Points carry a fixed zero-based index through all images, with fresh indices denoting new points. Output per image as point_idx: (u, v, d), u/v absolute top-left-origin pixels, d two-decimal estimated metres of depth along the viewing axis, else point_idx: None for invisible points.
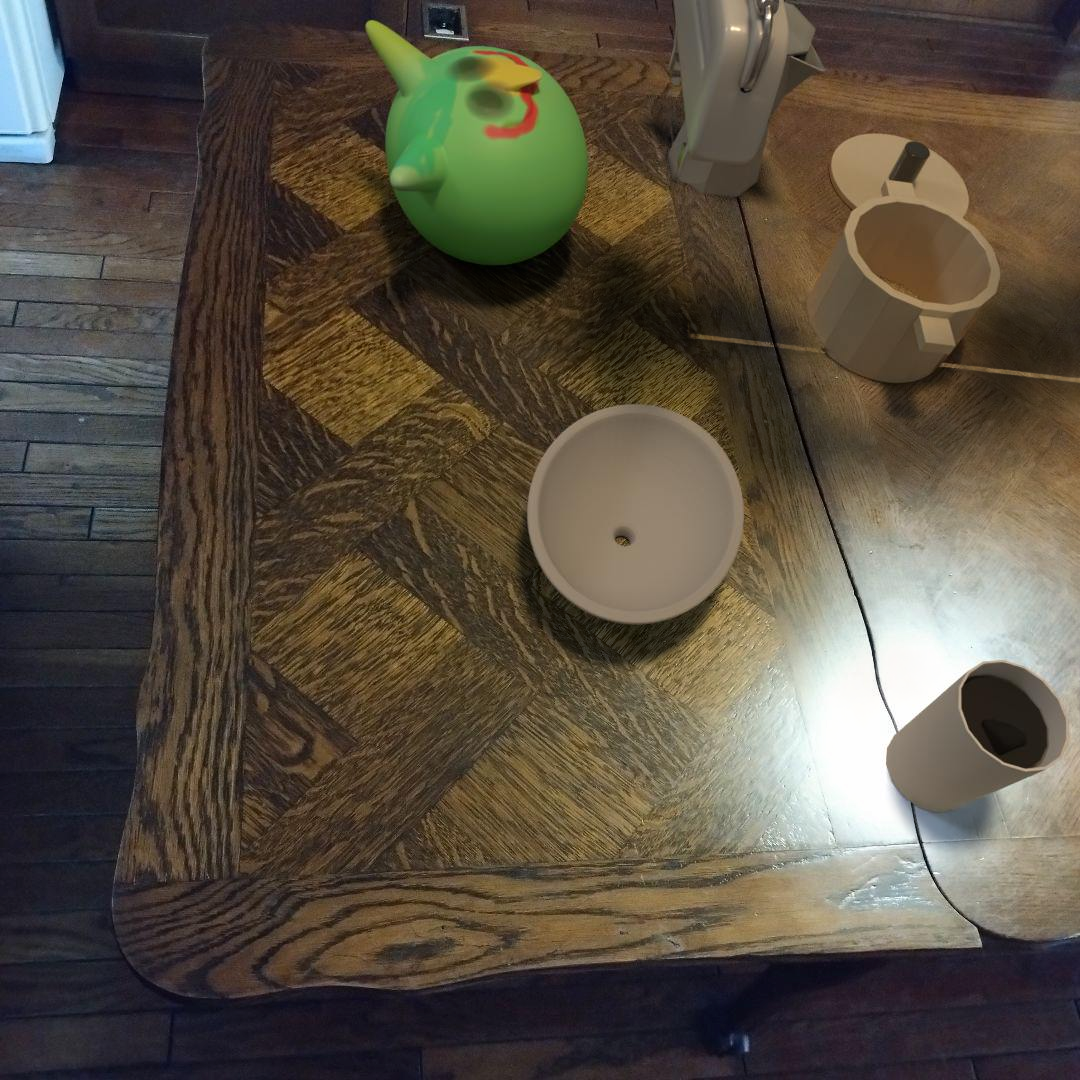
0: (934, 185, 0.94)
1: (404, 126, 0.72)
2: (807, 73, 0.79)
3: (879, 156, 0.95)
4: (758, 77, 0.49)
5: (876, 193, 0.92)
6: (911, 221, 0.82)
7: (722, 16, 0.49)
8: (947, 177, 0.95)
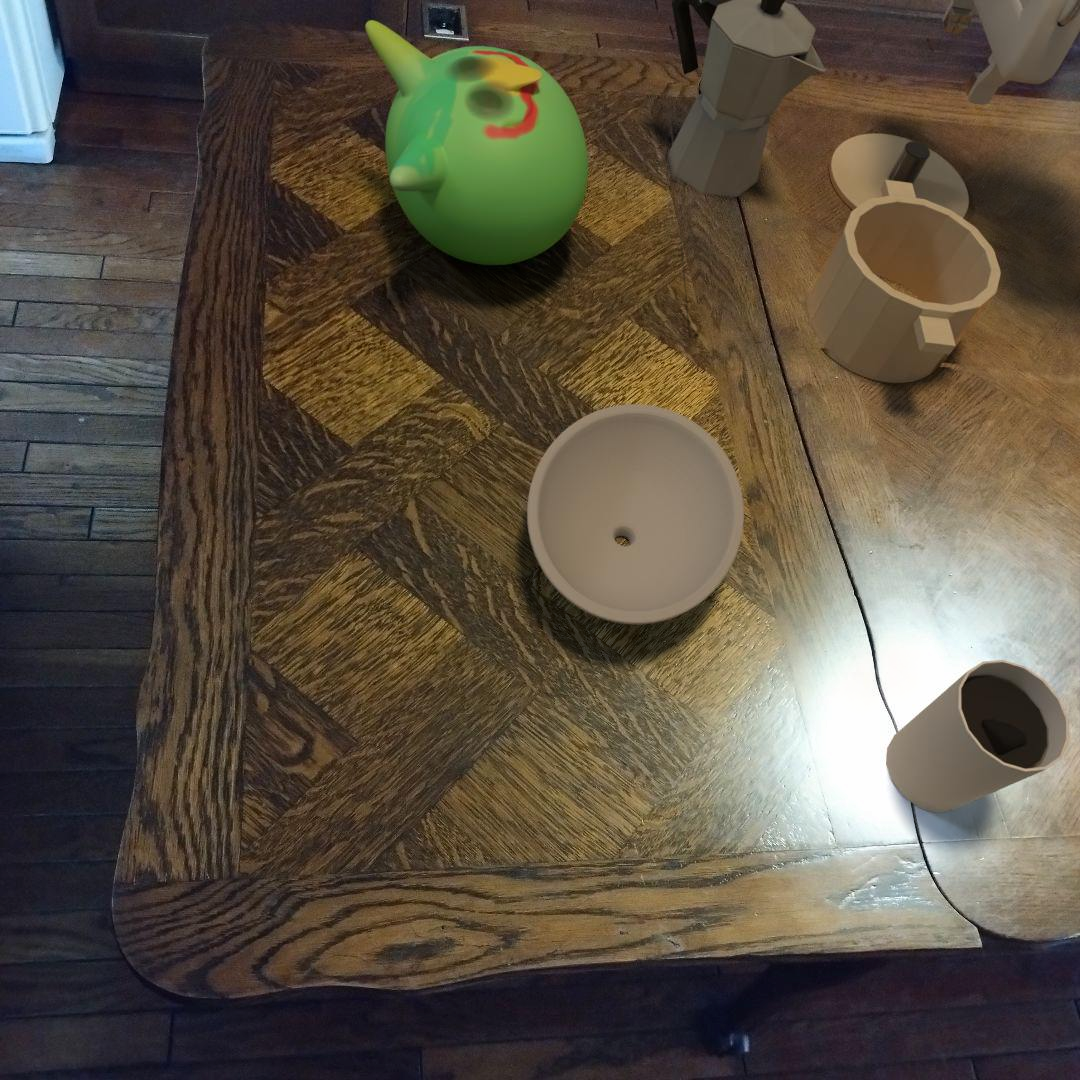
0: (934, 185, 0.94)
1: (403, 126, 0.72)
2: (807, 73, 0.79)
3: (879, 156, 0.95)
4: (1076, 14, 0.68)
5: (876, 193, 0.92)
6: (911, 221, 0.82)
7: None
8: (947, 177, 0.95)
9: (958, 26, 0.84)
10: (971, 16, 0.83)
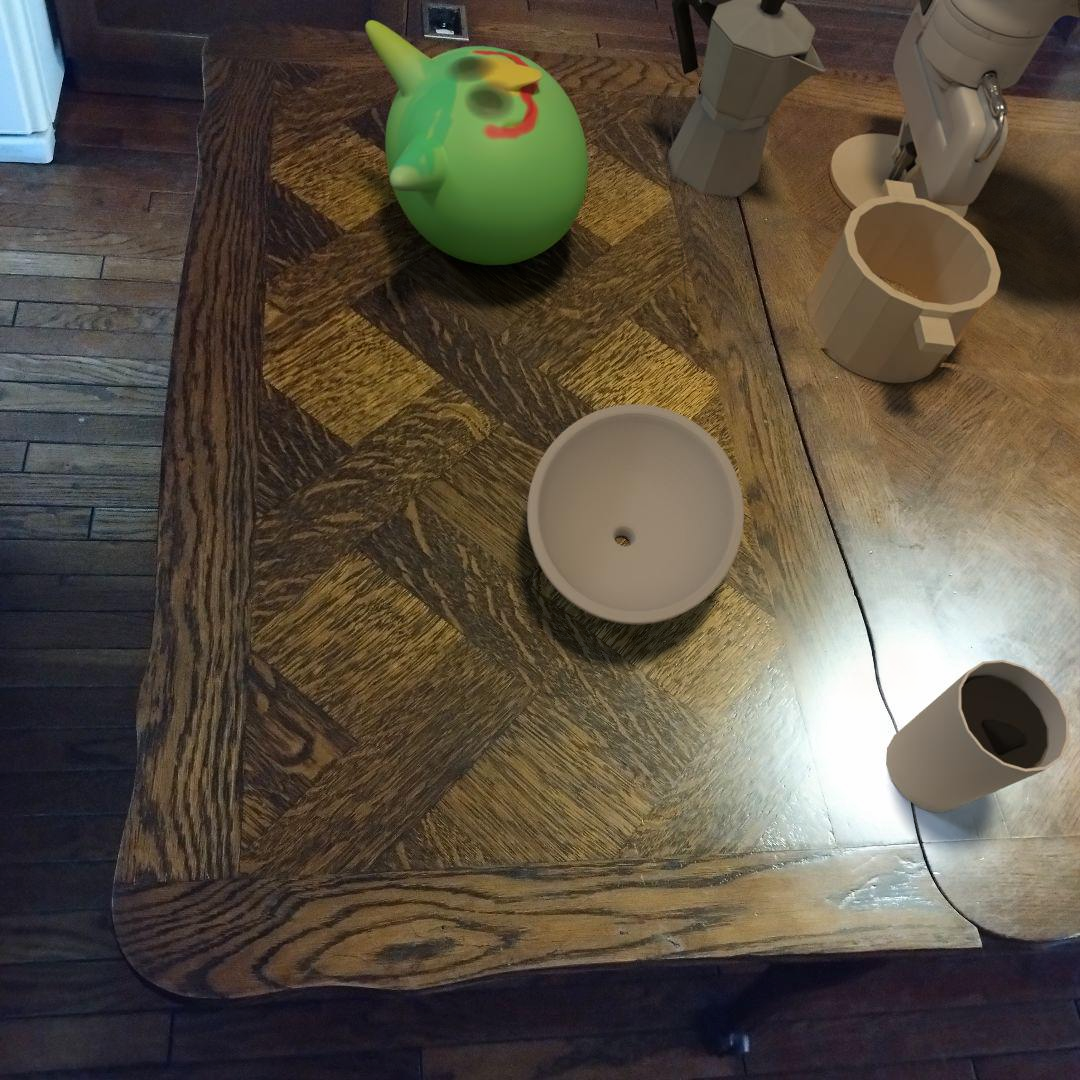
0: None
1: (403, 126, 0.72)
2: (807, 73, 0.79)
3: (879, 156, 0.95)
4: (989, 154, 0.79)
5: (876, 193, 0.92)
6: (911, 221, 0.82)
7: (967, 115, 0.79)
8: None
9: None
10: None
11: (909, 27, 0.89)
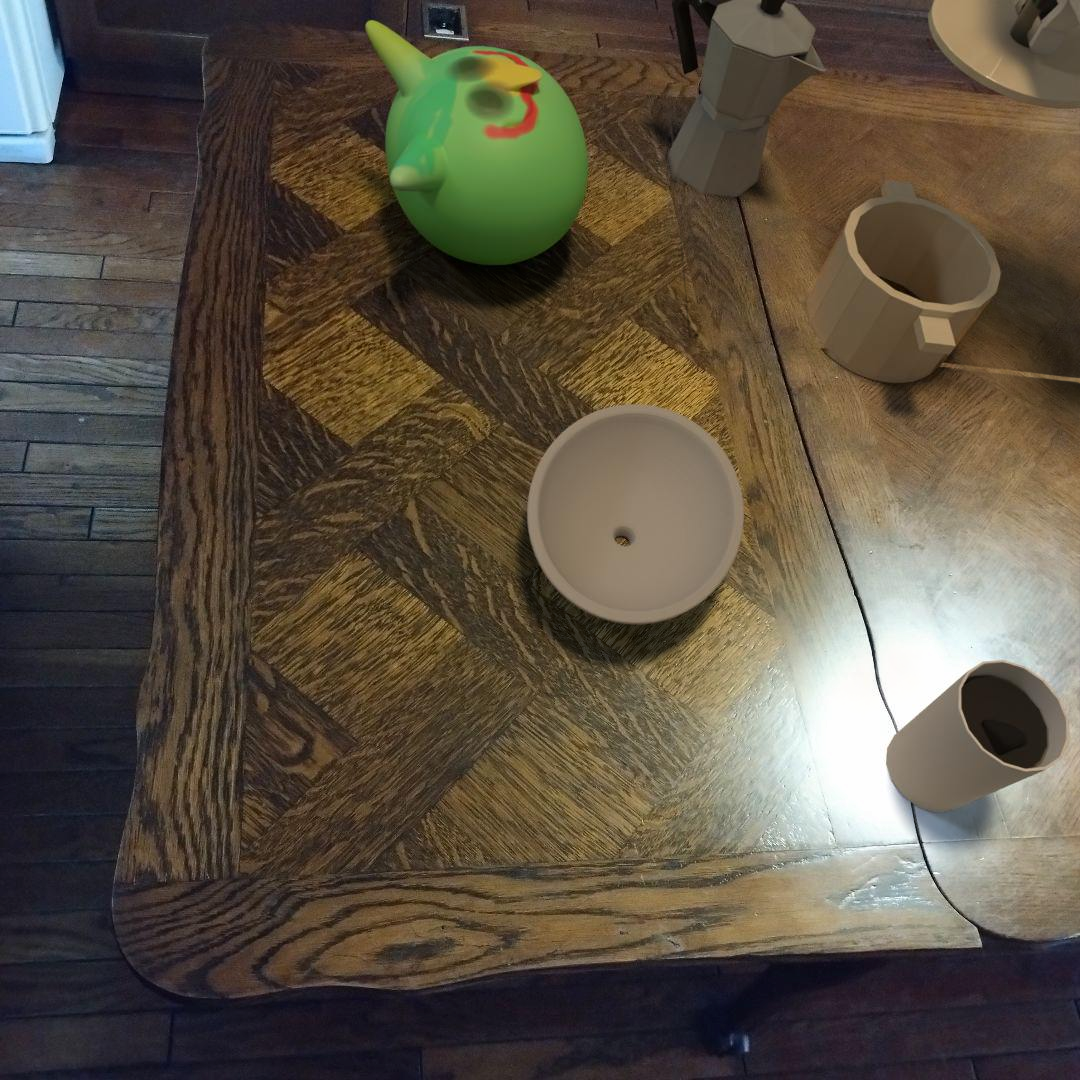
0: (1071, 45, 0.69)
1: (404, 126, 0.72)
2: (807, 73, 0.79)
3: (995, 8, 0.70)
4: None
5: (996, 51, 0.67)
6: (911, 221, 0.82)
7: None
8: None
9: None
10: None
11: None
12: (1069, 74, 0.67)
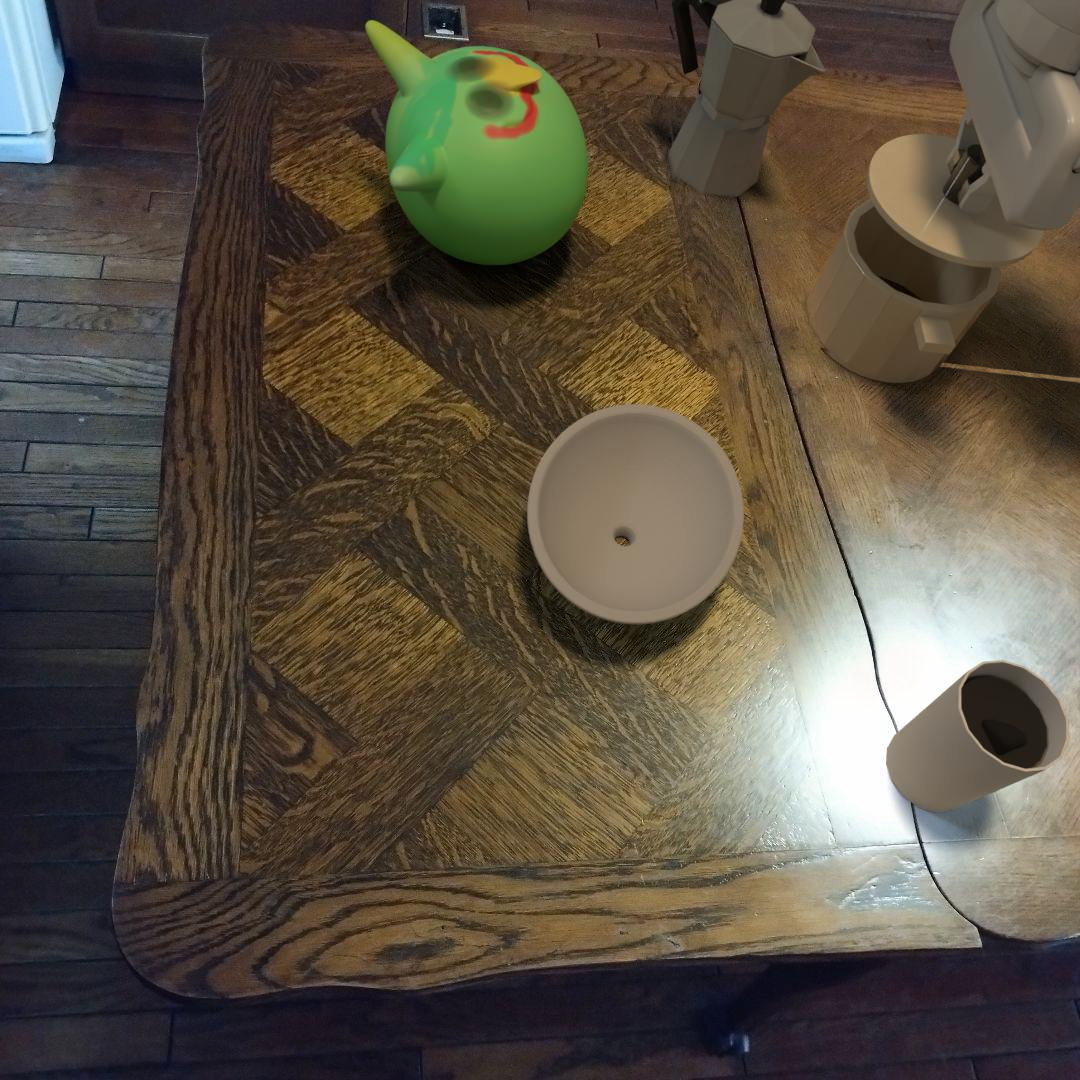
0: None
1: (403, 126, 0.72)
2: (807, 73, 0.79)
3: (930, 163, 0.74)
4: None
5: (928, 210, 0.71)
6: None
7: (1063, 110, 0.58)
8: None
9: None
10: None
11: None
12: (997, 232, 0.71)
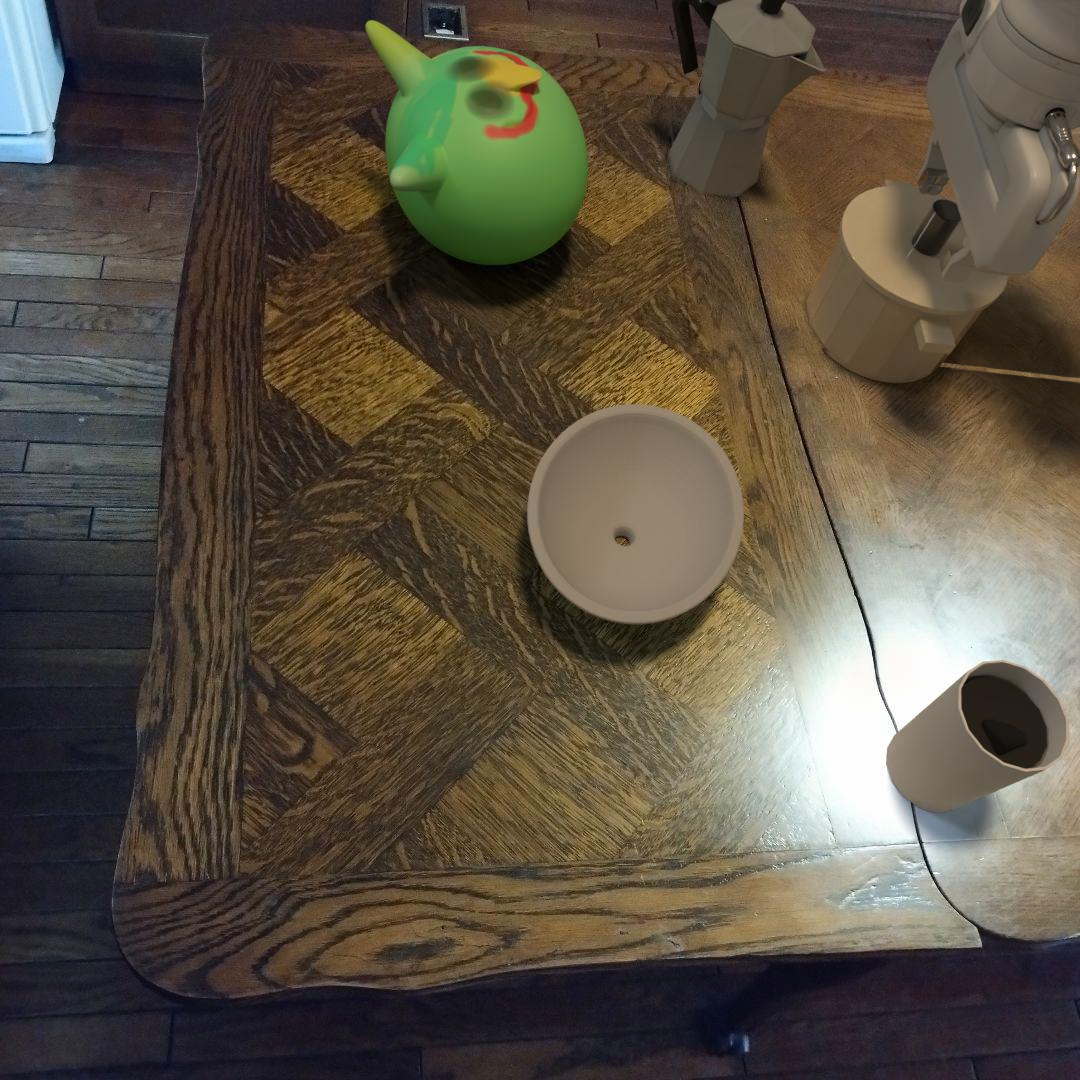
0: None
1: (404, 126, 0.72)
2: (807, 73, 0.79)
3: (900, 214, 0.78)
4: (1056, 215, 0.61)
5: (897, 261, 0.75)
6: None
7: (1027, 165, 0.61)
8: None
9: (933, 187, 0.77)
10: (947, 178, 0.76)
11: (946, 48, 0.72)
12: None
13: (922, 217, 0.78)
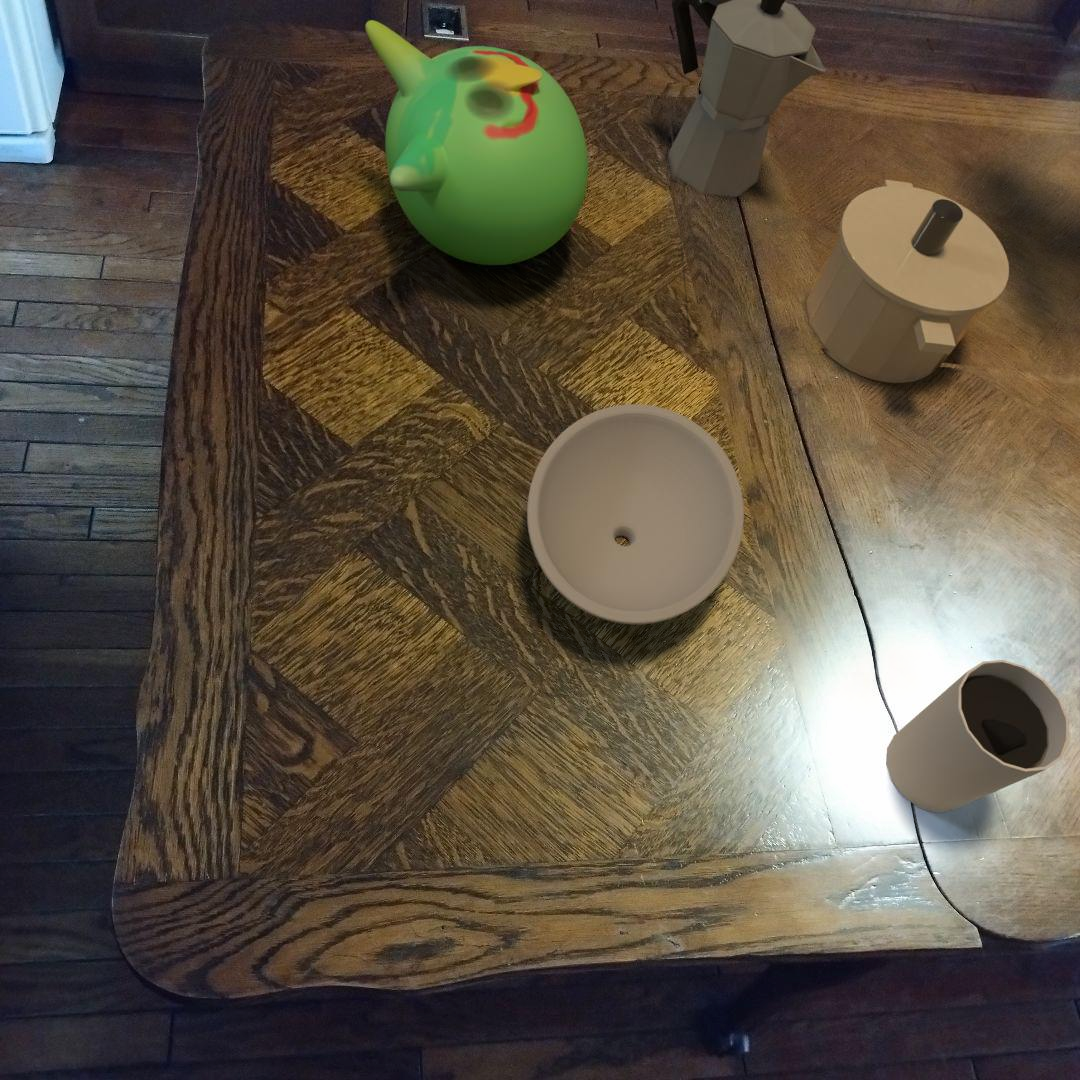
0: (967, 250, 0.77)
1: (404, 126, 0.72)
2: (807, 73, 0.79)
3: (900, 214, 0.78)
4: None
5: (897, 261, 0.75)
6: None
7: None
8: (982, 240, 0.78)
9: None
10: None
11: None
12: (962, 281, 0.75)
13: (922, 217, 0.78)
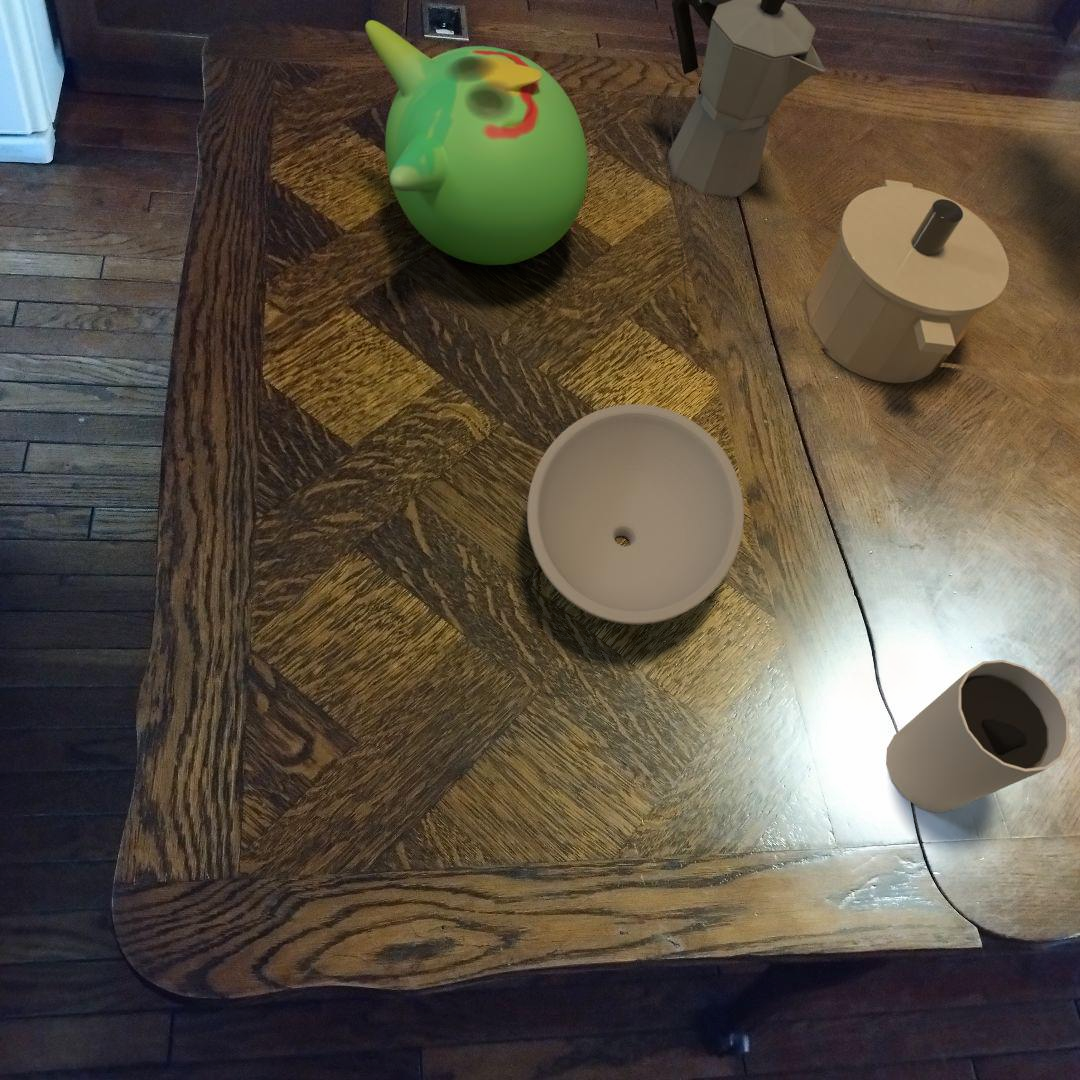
0: (967, 250, 0.77)
1: (403, 126, 0.72)
2: (807, 73, 0.79)
3: (900, 214, 0.78)
4: None
5: (897, 261, 0.75)
6: None
7: None
8: (982, 240, 0.78)
9: None
10: None
11: None
12: (962, 281, 0.75)
13: (922, 217, 0.78)
